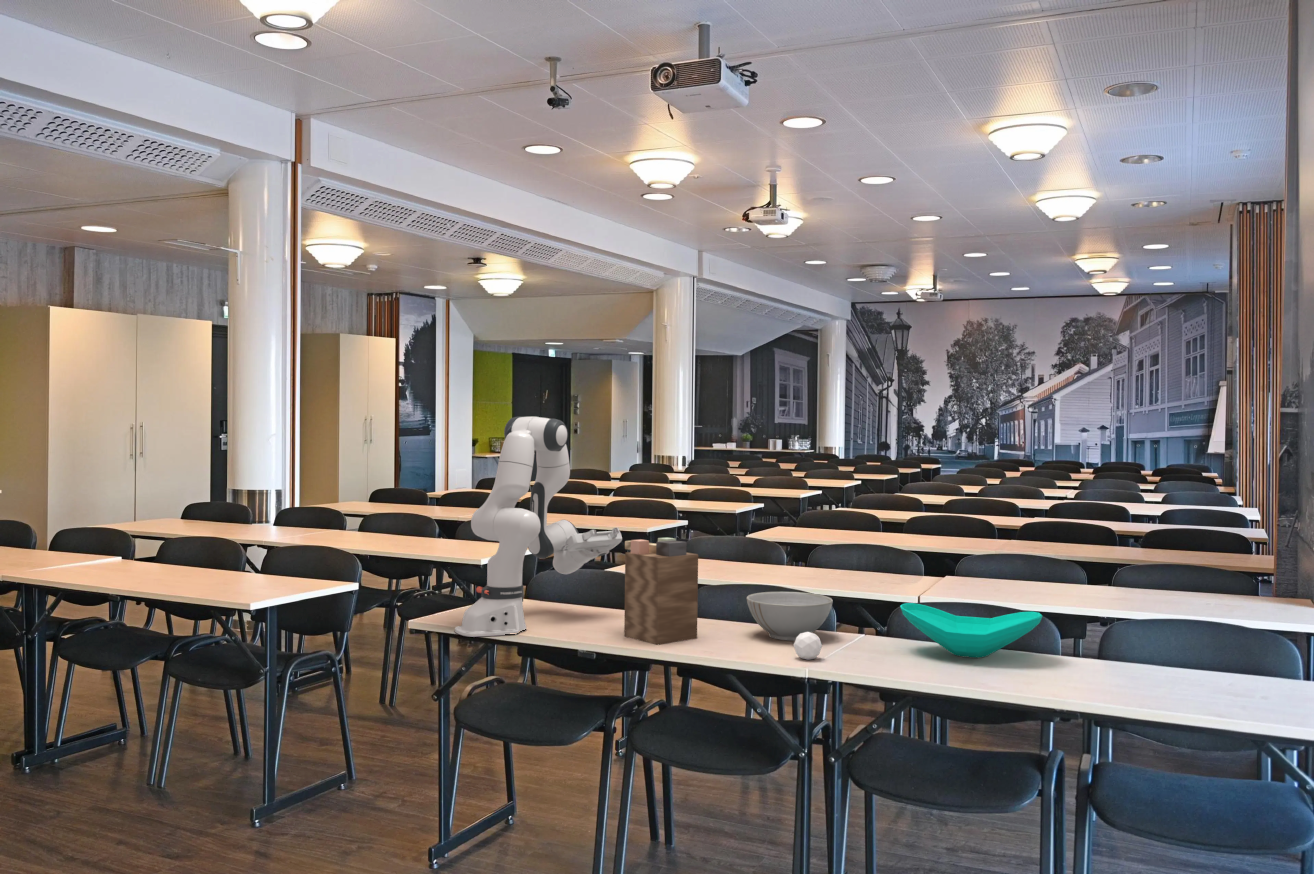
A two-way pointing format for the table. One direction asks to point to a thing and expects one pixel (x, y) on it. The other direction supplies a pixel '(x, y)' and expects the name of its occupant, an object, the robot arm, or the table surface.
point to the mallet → (664, 548)
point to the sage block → (666, 539)
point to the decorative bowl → (789, 612)
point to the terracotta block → (640, 546)
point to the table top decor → (970, 629)
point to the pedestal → (661, 597)
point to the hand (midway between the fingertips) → (606, 530)
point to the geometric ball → (807, 645)
